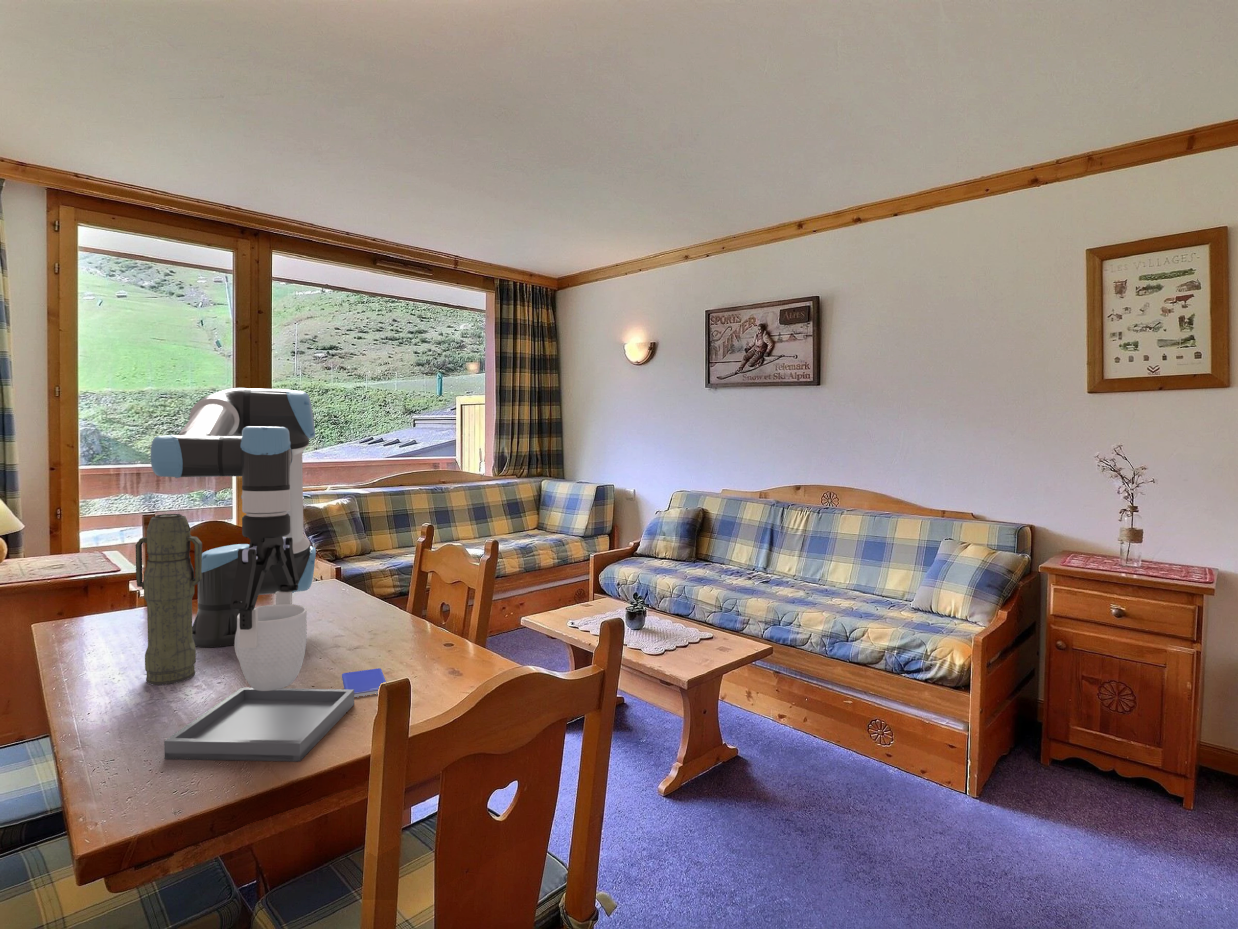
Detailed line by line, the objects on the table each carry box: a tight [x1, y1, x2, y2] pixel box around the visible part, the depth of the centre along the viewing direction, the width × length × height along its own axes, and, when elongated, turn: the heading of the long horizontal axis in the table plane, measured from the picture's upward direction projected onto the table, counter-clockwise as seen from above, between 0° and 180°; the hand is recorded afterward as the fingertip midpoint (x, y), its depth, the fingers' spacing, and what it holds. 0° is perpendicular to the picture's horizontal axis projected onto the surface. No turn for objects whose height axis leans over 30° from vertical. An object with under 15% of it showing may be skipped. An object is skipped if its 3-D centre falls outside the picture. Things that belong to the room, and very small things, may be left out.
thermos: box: [134, 513, 203, 686], centre depth 139 cm, size 9×12×35 cm
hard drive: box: [341, 668, 387, 698], centre depth 138 cm, size 2×8×12 cm
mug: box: [234, 603, 308, 691], centre depth 117 cm, size 15×11×13 cm
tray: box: [163, 687, 355, 762], centre depth 117 cm, size 22×22×3 cm
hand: (267, 636), depth 116 cm, fingers closed on mug, 11 cm apart
